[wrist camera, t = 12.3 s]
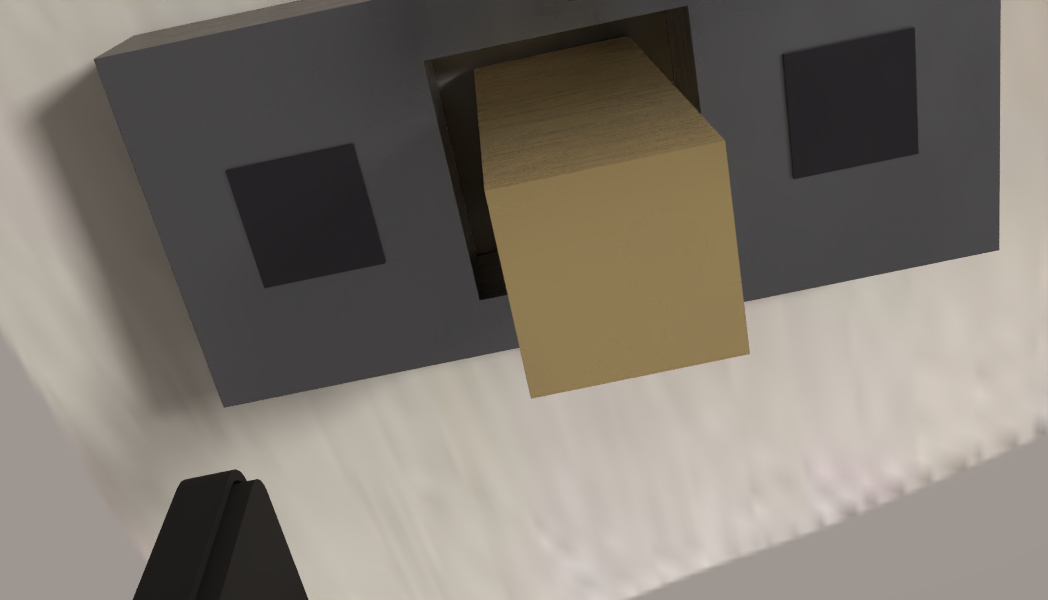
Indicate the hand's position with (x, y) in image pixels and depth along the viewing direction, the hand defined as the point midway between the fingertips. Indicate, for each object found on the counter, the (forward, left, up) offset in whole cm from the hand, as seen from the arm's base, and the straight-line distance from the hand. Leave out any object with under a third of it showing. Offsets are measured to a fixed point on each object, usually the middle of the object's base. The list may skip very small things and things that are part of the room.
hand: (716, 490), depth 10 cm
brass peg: (+1, 0, -17) cm, 17 cm away
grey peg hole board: (+1, 0, -17) cm, 17 cm away
